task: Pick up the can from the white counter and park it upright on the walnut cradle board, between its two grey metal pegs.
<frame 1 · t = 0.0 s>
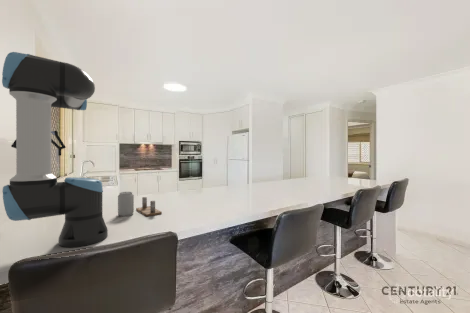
hand: (40, 162, 110), 28 cm above the countertop, fingers open, 13 cm apart
peg cradle: (148, 212, 120), on the countertop
can: (125, 215, 115), on the countertop
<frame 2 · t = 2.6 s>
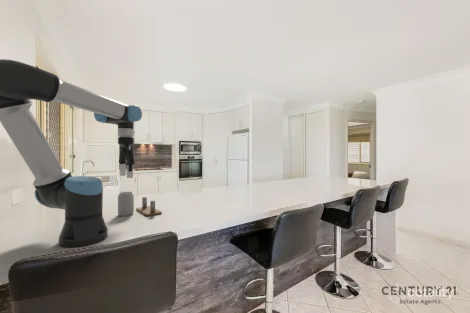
hand: (126, 176, 115), 20 cm above the countertop, fingers open, 13 cm apart
nothing on the countertop moved.
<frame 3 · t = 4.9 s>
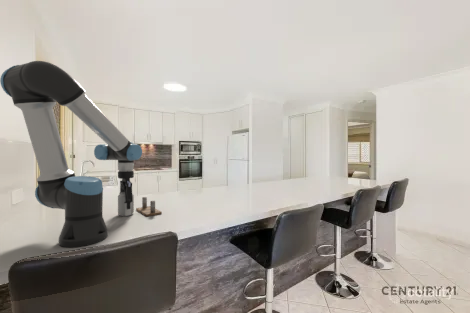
hand: (125, 213, 115), 1 cm above the countertop, fingers closed on can, 7 cm apart
can: (125, 215, 115), on the countertop, touching gripper
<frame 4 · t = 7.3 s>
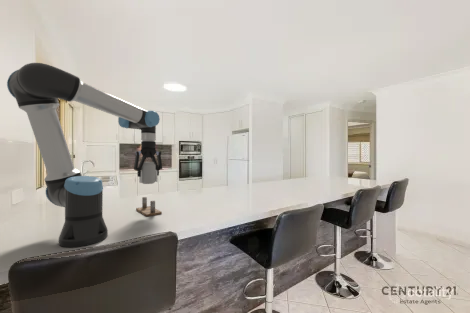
hand: (148, 182, 120), 17 cm above the countertop, fingers closed on can, 7 cm apart
can: (148, 183, 120), point 16 cm above the countertop, touching gripper
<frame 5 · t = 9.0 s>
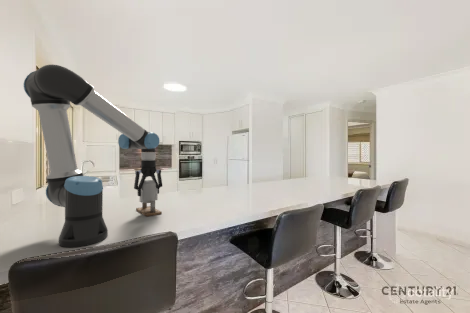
hand: (148, 200, 120), 6 cm above the countertop, fingers closed on can, 7 cm apart
can: (148, 202, 120), point 5 cm above the countertop, touching gripper
when the fingers open (3 cm above the countertop, at t = 10.1 s): can drops 1 cm, resting on peg cradle.
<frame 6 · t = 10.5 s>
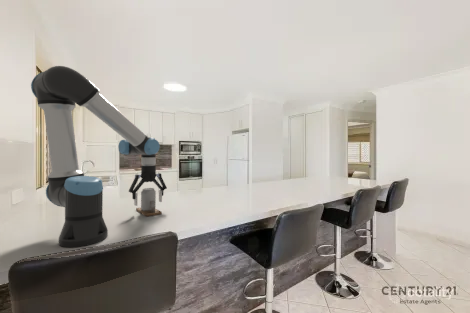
hand: (148, 203, 120), 5 cm above the countertop, fingers open, 13 cm apart
can: (148, 210, 120), point 1 cm above the countertop, touching peg cradle
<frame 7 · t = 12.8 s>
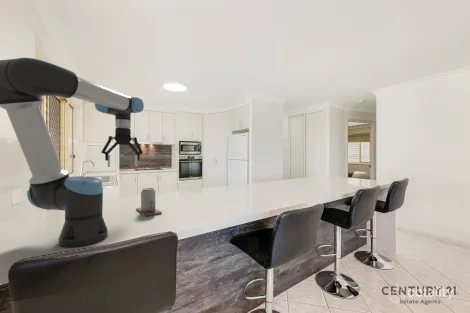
hand: (122, 166, 119), 25 cm above the countertop, fingers open, 13 cm apart
nothing on the countertop moved.
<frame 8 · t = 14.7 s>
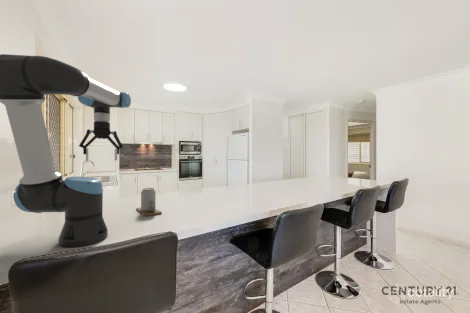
hand: (102, 160, 118), 29 cm above the countertop, fingers open, 13 cm apart
nothing on the countertop moved.
at the end: can 0.1 cm off-centre on the peg cradle, point 1.0 cm above the peg cradle's base; can tilted 0°; the gripper is holding nothing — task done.
